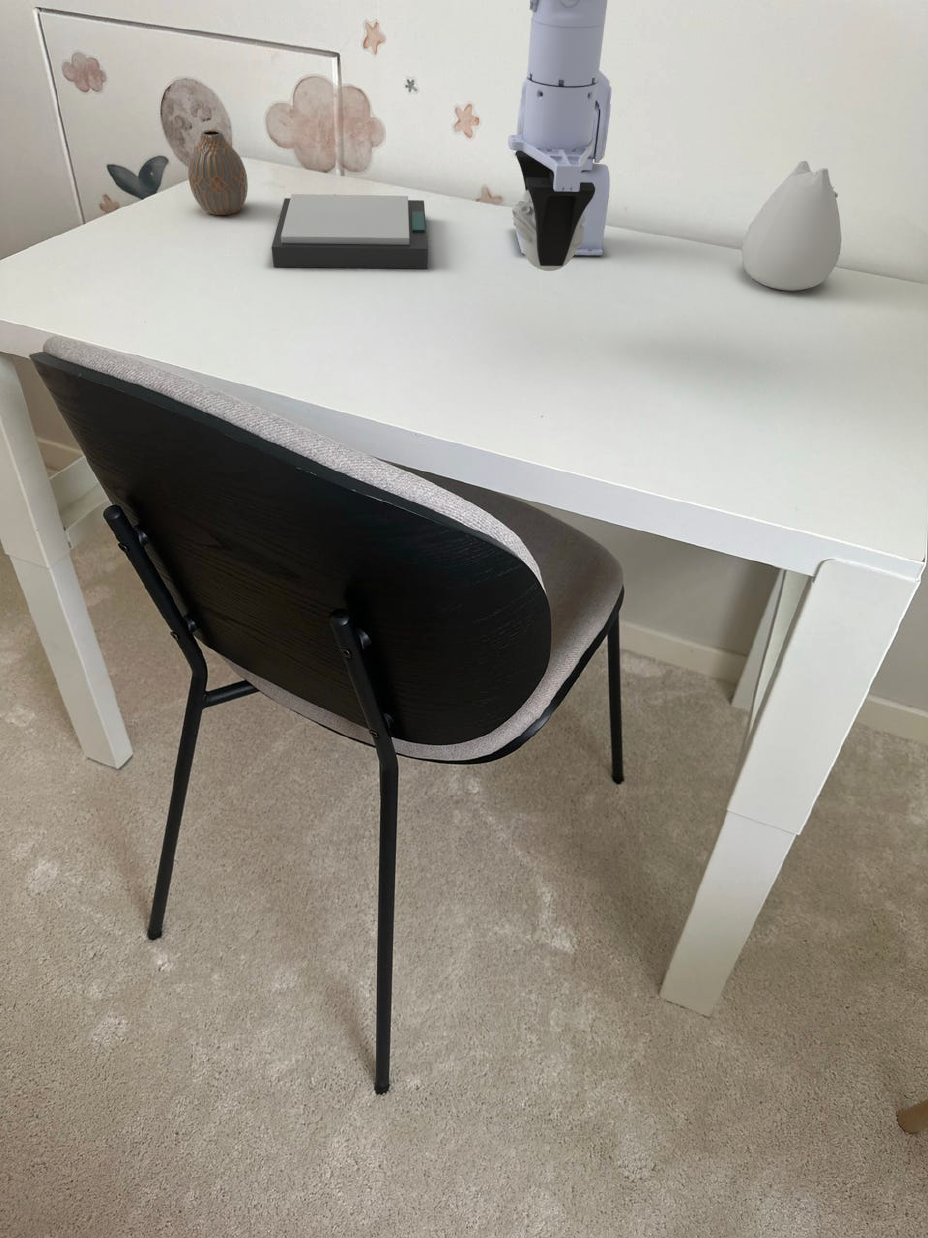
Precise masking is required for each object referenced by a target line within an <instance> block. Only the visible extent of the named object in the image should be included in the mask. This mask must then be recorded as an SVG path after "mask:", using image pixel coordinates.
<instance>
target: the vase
mask: <svg viewBox="0 0 928 1238" xmlns="http://www.w3.org/2000/svg"><path fill="white" fill-rule="evenodd" d="M188 182H189V186H190V191H191V193H192V195H193V198H194V199H195V201H196V203H197V204H198V205H199V207H201V208H202V209H203V210H204V211H205V212H206V213H208V214H210V215H214V216H229V215H233V214H236V213H237V212H239V211H240V210H241V208H243V206H244V204H245V202H246V200H247V196H248V190H249V189H248V188H249V185H248V175H247V170H246V168H245V165H244V162H243V160H242V159H241V156H240V155H239V154H238V152H237V151H236V150H235V149H234V148H233V147H232V145H231V144H230V143H229V141H227V139H226V138H225V135H224V133H223V132H222V131H221V130H218V129H205V130H203V131H201V132H200V137H199V141H198V143H197V145H196V147H195V148H194V150H193V152H192V154H191V156H190V158H189V164H188Z"/></svg>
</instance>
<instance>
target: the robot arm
mask: <svg viewBox="0 0 928 1238" xmlns="http://www.w3.org/2000/svg"><path fill="white" fill-rule="evenodd" d="M608 1H609V0H529V10H530V11H531V12H532V16H531V17H530V32H529V45H528V59H527V72H526V76H525V80H524V81H523V82H522V86H521V94H520V95H521V96H520V100H519V107H518V114H517V127H516V134H510V135H508V139H507V145H508V148H509V150H512V151H516V152H515V156H516V159H517V162H518V164H519V167H520V170H521V173H522V174H521V175H522V178H523V184H524V189H525V190H524V192H525V191H527V190H528V191H529V193H530V196H531V199H532V203H533V208H534V213H535V221H536V237H537V253H538V259H539V263H540V266H563V264H564V262H565V259H566V256H567V254H568V251H569V247H570V244H571V241H572V238H573V235H574V232H575V229H576V226H577V224H578V222H579V219H580V217H581V215H582V214H583V215H584V218H585V221H584V222H583V223H582V224H581V225H582V226H583V227H584V229H585V230H584V236H583V241H582V244H581V245H580V246H579V248H577V249H576V251H575V254H574V256H602V255H603V252H604V250H603V245H604V244H603V242H604V235H605V229H606V220H607V214H608V207H609V198H610V186H611V185H610V184H611V183H610V181H611V180H610V179H611V177H610V170H609V166H608V165H607V164H605V163H600V162H601V161H602V159H604V158H605V155H606V149H607V141H608V134H609V125H610V116H611V97H612V86H611V85H610V83H611V82H610V80H609V79H608V76H606V75H605V74H604V73H603V72H602V71H601V70H600V65H601V58H602V49H603V42H604V34H605V33H604V32H605V24H606V18H607V17H606V15H607V10H608V9H607V8H608ZM514 229H515V234H516V238H517V242H518V245H519V249H520V252H521V254H522V255H525V254H524V251H523V247H522V237H521V236H520V235H519V233H518V232H517V230H516V228H514ZM563 267H564V266H563Z"/></svg>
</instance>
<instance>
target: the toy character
mask: <svg viewBox="0 0 928 1238" xmlns="http://www.w3.org/2000/svg"><path fill="white" fill-rule="evenodd" d="M834 189H835V186H833V185H832V183H831V179H830V175H829V169H828V168H827V167H822V168H820V169H818V170H816V171H815V172H814V171H812V170H811V167H810V164H809V162H808V161H807V160H802V161H799V163H798V164H797V165H796V166H795V168H794V169H793V170H792V171H791V172H790V174H789V175H788V176H787V177H786V178H785V179H784V180H783V182H782V183H781V184H780V185H779V186H778V187H777V188H776V189H775V191H774V192H773V193H772V194H771V195H770V196H769V198H768V199H767V200H766V201H765V203H764V204H763V205H762V207H761V208H760V210H759V211H758V213H757V214H756V215H755V217H754V219H753V220H752V221H751V223H750V224H749V226H748V229H747V231H746V233H745V235H744V237H743V242H742V247H741V261H742V266H743V268H744V270H745V272H746V274H747V275H748V276H750V278H751V279H753V280H754V281H756V282H757V283H759V284H760V285H762V286H765V287H767V288H770V289H774V290H779V291H787V292H789V291H790V292H795V291H796V292H797V291H803V290H806V289H807V290H808V289H811V288H814V287H817V286H818V285H820V284H822V283H823V282H824V281H825V280H827V279H828V278H829V276H830V275H831V273H832V272H833V270H834V268H835V267H836V265H837V263H838V262H839V259H840V255H841V249H842V248H841V247H842V231H841V229H842V228H841V218H840V212H839V205H838V202H837V201H838V200H837V198H838V197H839V193H838V192H837V191H835V190H834Z"/></svg>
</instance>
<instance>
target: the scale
mask: <svg viewBox="0 0 928 1238" xmlns="http://www.w3.org/2000/svg"><path fill="white" fill-rule="evenodd" d="M271 255H272V263H273V264H272V265H273V267H274V268H335V269H336V268H337V269H338V268H339V269H340V268H341V269H343V268H347V269H426V270H427V269H428V268H429V267H428V266H429V262H428V261H429V248H428V235H427V222H426V208H425V200H423V199H422V200H421V199H409V196H408V195H377V194H376V195H373V194H372V195H369V194H317V193H316V194H314V193H313V194H312V193H311V194H310V193H309V194H308V193H307V194H306V193H305V194H303V193H291V194H290V197H284V199H283V203H282V207H281V210H280V214H279V218H278V222H277V225H276V229H275V232H274V237H273V240H272V244H271Z"/></svg>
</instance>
